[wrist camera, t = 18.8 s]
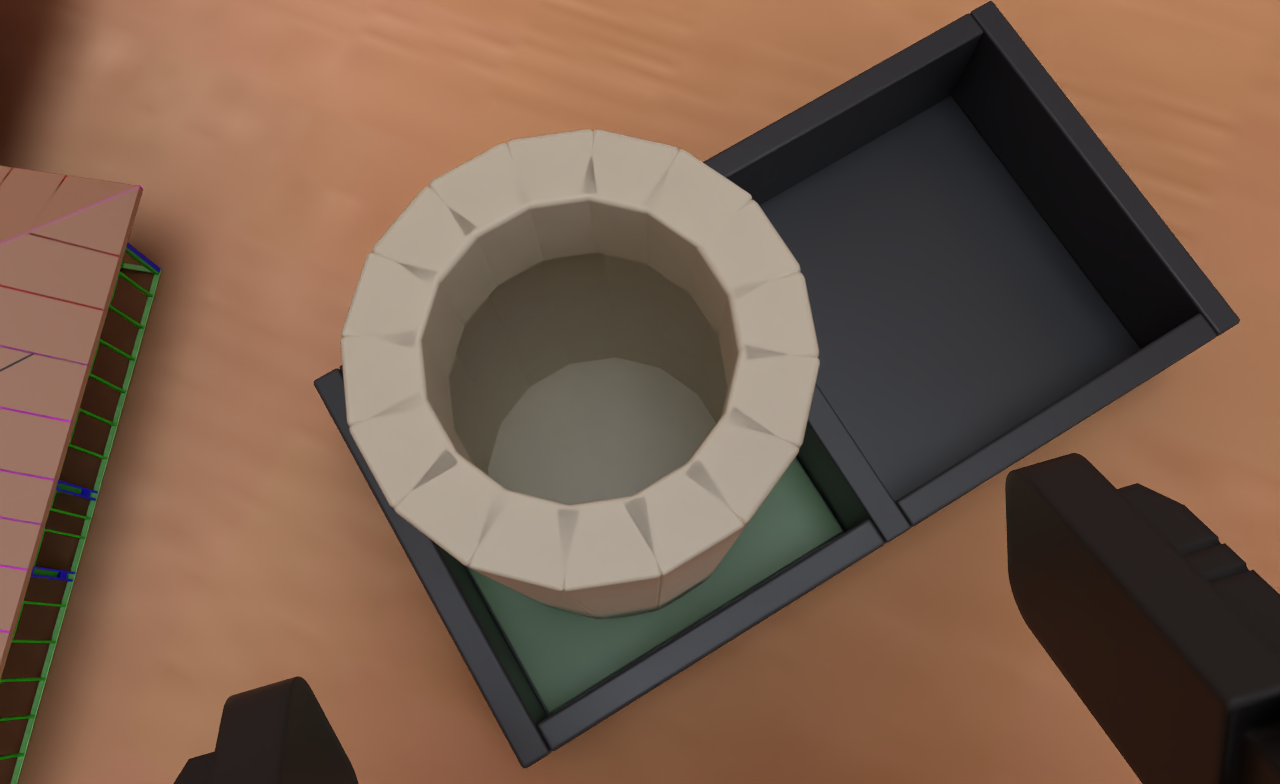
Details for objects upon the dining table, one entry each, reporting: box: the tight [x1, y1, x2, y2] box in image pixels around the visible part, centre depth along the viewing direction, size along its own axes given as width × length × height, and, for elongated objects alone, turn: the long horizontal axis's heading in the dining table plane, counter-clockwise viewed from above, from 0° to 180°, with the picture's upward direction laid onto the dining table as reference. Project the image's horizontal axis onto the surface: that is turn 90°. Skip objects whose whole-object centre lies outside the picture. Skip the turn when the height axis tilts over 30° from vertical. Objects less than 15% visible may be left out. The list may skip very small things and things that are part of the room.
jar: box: [340, 129, 820, 619], centre depth 19 cm, size 6×6×10 cm
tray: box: [314, 1, 1240, 768], centre depth 23 cm, size 17×9×3 cm, turn 121°
